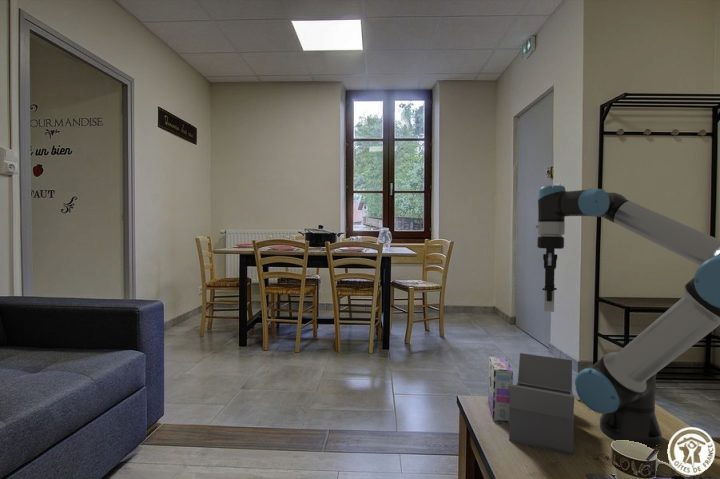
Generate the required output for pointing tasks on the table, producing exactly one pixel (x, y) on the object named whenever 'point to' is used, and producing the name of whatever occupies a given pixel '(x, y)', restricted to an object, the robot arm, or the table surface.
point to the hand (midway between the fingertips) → (549, 311)
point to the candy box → (499, 388)
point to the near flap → (541, 401)
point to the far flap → (545, 371)
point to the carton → (542, 427)
